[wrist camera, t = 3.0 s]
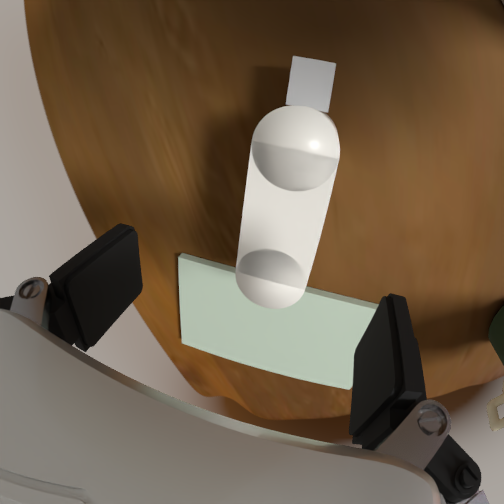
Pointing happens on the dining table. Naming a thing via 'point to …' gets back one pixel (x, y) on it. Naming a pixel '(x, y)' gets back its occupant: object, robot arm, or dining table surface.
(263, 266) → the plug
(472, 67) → the dining table surface
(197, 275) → the green board
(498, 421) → the character mug
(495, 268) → the dining table surface
